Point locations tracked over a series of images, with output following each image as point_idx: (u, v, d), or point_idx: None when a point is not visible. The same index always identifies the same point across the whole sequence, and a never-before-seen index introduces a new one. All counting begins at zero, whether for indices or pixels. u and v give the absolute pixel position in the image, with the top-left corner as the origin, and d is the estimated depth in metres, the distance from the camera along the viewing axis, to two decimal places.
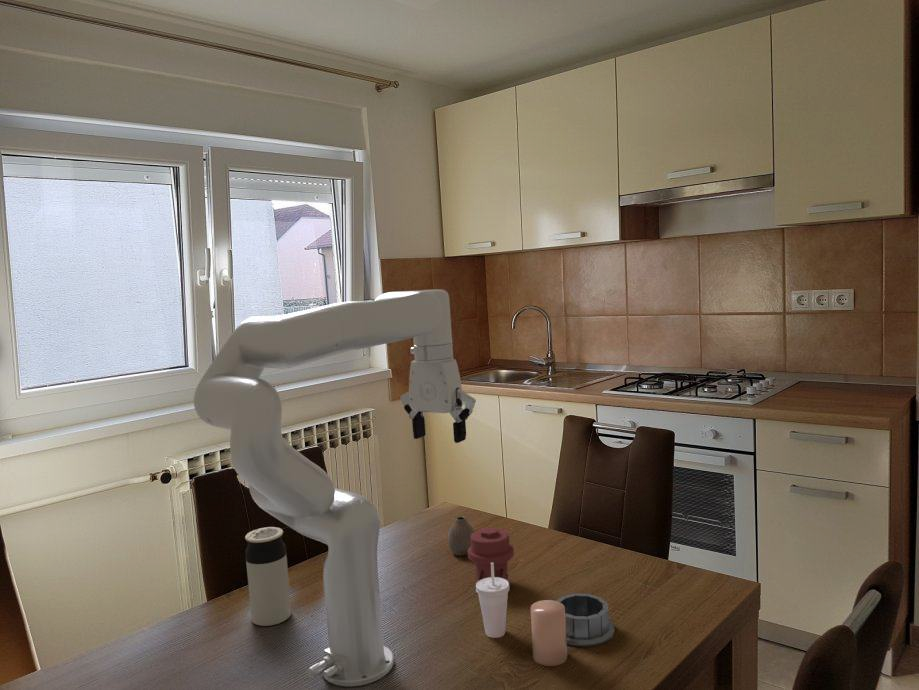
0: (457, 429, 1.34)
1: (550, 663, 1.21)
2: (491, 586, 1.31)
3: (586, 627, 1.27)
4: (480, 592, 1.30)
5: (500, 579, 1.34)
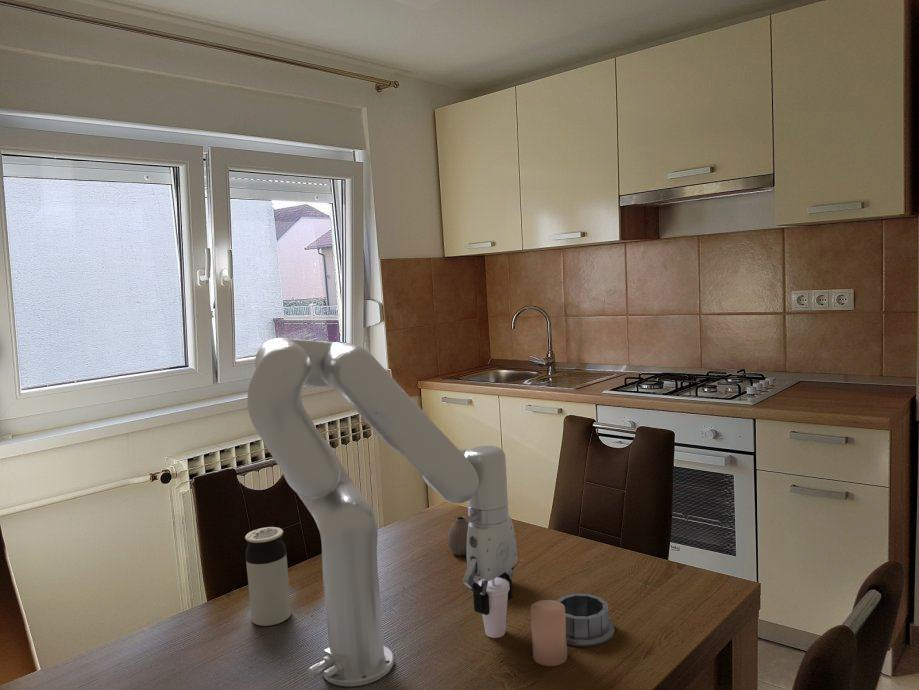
0: None
1: (550, 663, 1.21)
2: (491, 586, 1.31)
3: (586, 627, 1.27)
4: None
5: (500, 579, 1.34)
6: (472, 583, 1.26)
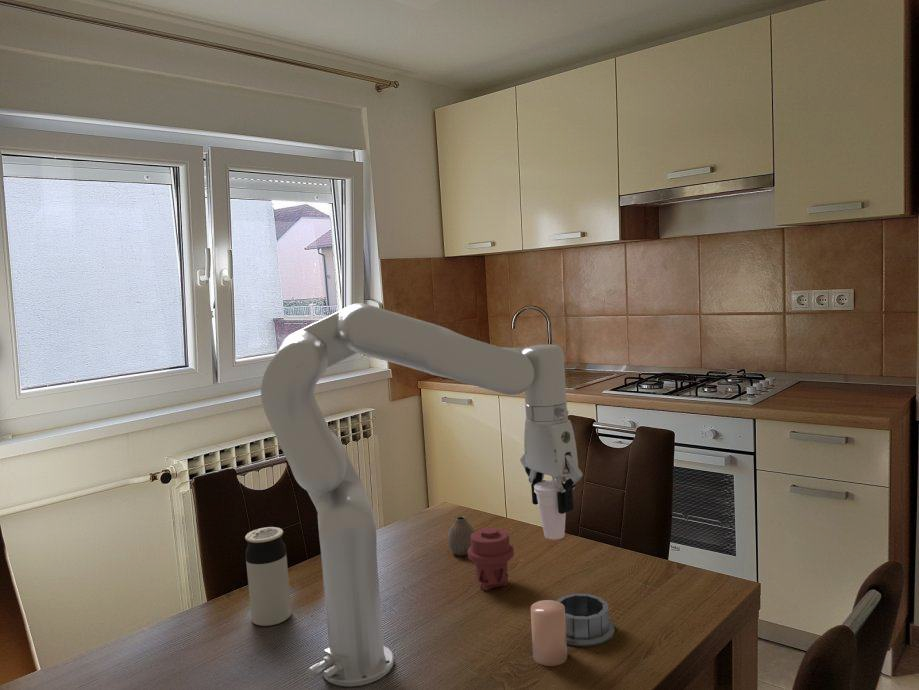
0: None
1: (550, 663, 1.21)
2: None
3: (586, 627, 1.27)
4: None
5: (541, 482, 1.31)
6: None
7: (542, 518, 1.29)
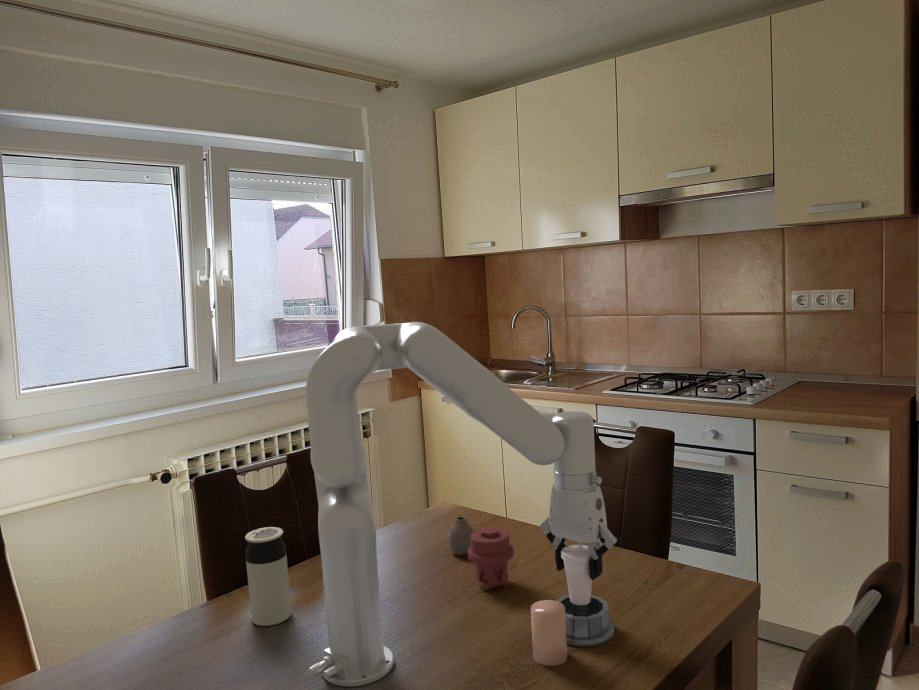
0: None
1: (550, 663, 1.21)
2: (585, 550, 1.30)
3: (586, 627, 1.27)
4: None
5: (566, 548, 1.32)
6: None
7: (570, 585, 1.30)
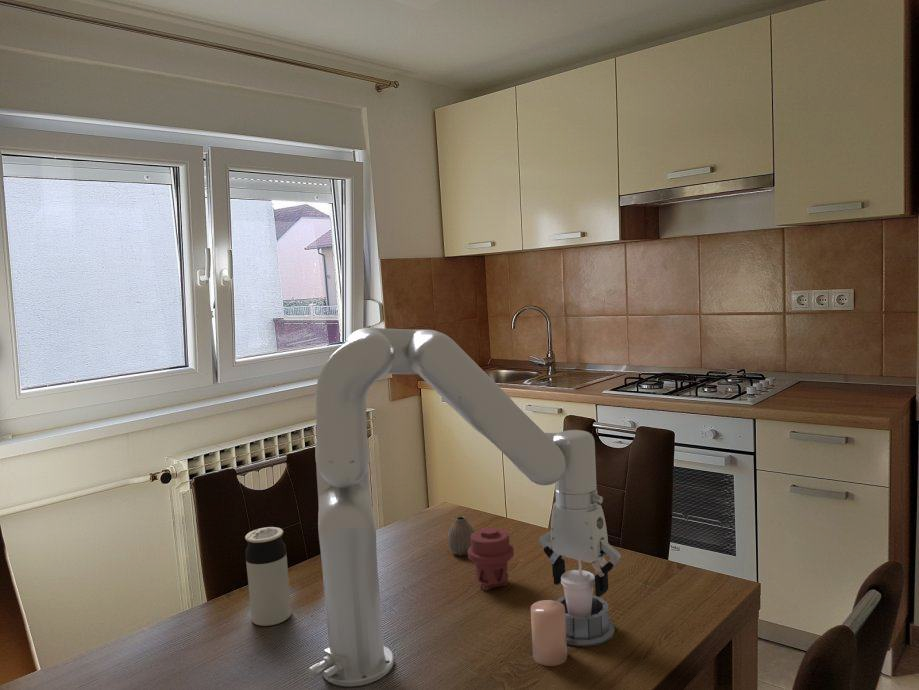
0: None
1: (550, 663, 1.21)
2: (584, 576, 1.31)
3: (586, 627, 1.27)
4: (590, 584, 1.29)
5: (566, 573, 1.33)
6: None
7: (570, 610, 1.30)
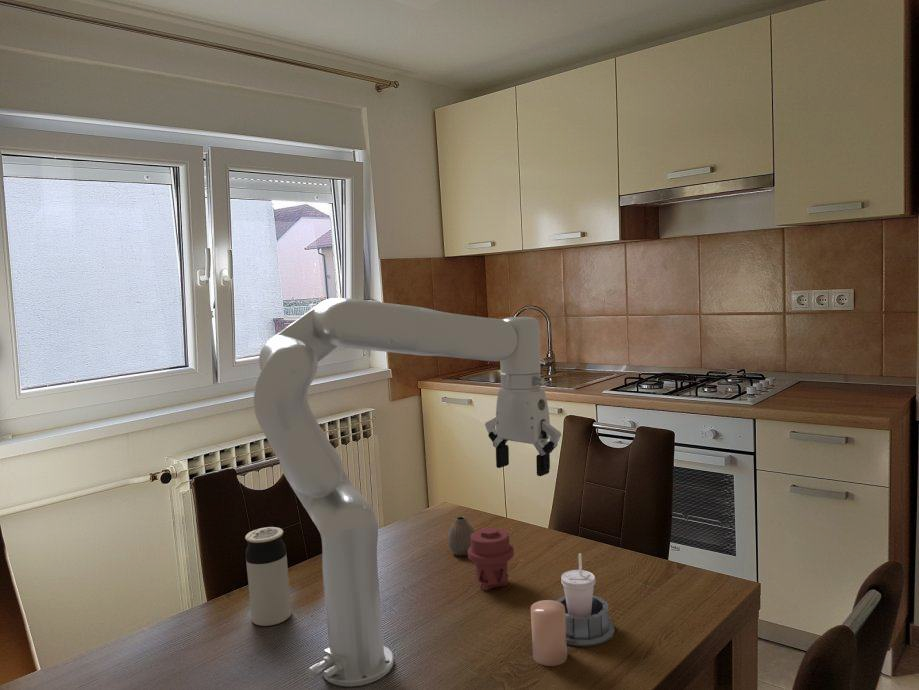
0: None
1: (550, 663, 1.21)
2: (585, 576, 1.31)
3: (586, 627, 1.27)
4: (590, 584, 1.29)
5: (566, 573, 1.33)
6: None
7: (570, 610, 1.30)
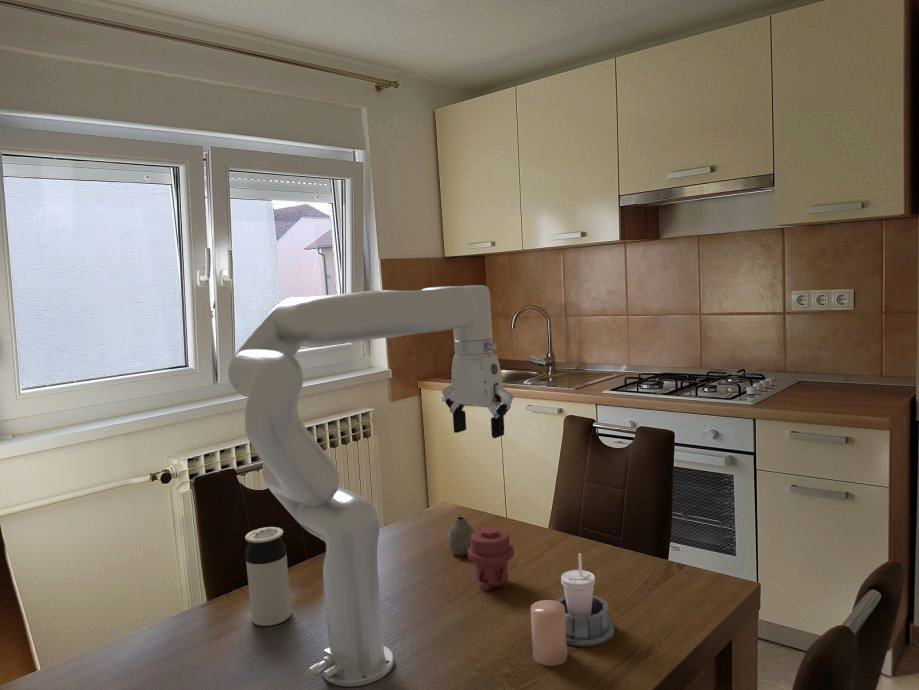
0: None
1: (550, 663, 1.21)
2: (585, 576, 1.31)
3: (586, 627, 1.27)
4: (590, 584, 1.29)
5: (566, 573, 1.33)
6: None
7: (570, 610, 1.30)
